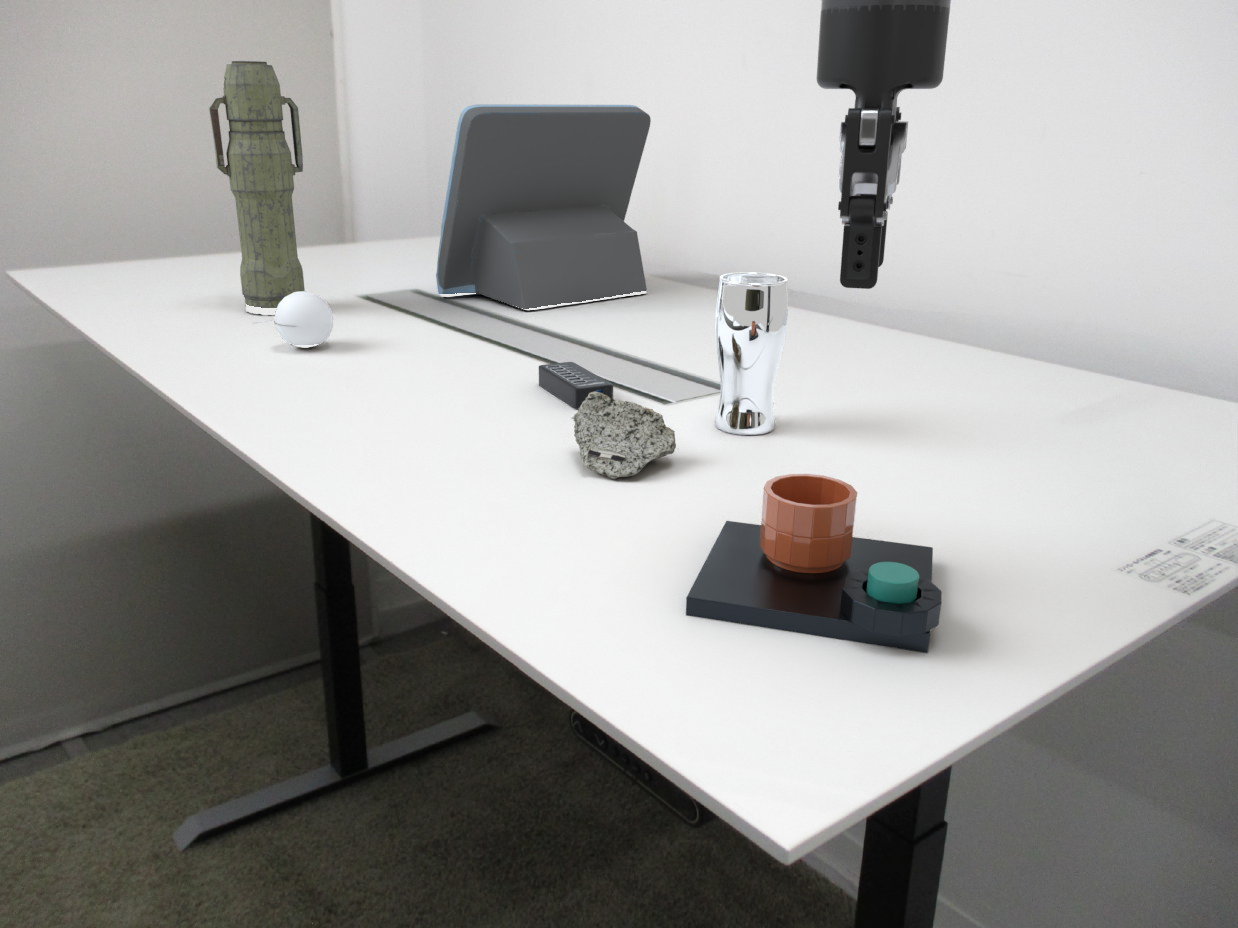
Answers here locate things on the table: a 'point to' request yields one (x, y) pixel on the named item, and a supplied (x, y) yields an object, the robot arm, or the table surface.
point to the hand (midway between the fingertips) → (862, 276)
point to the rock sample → (620, 435)
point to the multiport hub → (572, 382)
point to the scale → (815, 592)
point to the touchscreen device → (542, 204)
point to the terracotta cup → (807, 522)
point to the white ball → (303, 319)
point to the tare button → (892, 582)
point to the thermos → (261, 180)
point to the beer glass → (749, 349)
